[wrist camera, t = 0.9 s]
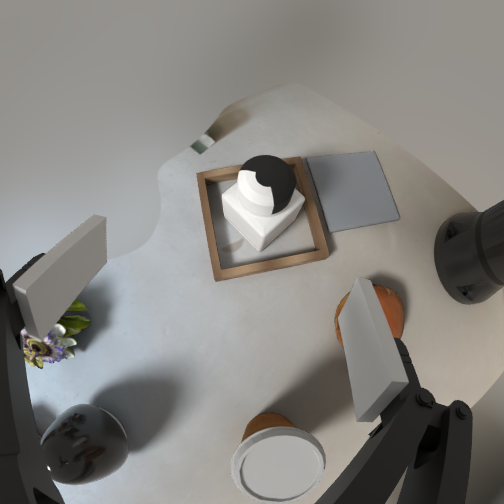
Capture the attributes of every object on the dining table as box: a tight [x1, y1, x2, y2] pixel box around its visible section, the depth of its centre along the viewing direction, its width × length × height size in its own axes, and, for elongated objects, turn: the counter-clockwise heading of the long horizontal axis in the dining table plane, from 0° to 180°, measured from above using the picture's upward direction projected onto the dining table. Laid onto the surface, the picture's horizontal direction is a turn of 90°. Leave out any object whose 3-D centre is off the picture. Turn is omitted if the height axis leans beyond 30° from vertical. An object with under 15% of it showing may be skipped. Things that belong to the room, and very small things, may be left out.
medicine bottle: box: [222, 155, 305, 252], centre depth 36 cm, size 7×7×12 cm
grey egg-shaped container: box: [40, 404, 128, 485], centre depth 26 cm, size 10×10×15 cm
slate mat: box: [306, 152, 400, 233], centre depth 43 cm, size 12×12×1 cm
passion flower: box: [21, 299, 91, 369], centre depth 33 cm, size 11×11×12 cm
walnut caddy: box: [196, 157, 330, 282], centre depth 41 cm, size 15×15×2 cm
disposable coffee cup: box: [230, 413, 326, 504], centre depth 29 cm, size 10×10×12 cm
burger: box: [335, 284, 404, 348], centre depth 37 cm, size 10×9×5 cm
